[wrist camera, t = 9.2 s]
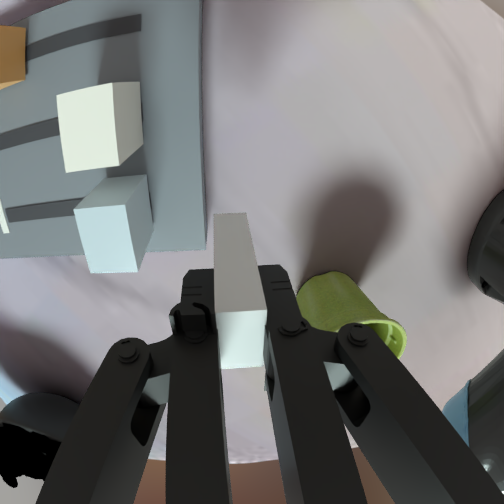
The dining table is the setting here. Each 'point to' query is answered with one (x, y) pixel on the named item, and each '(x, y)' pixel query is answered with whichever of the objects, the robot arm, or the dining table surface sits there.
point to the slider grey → (115, 224)
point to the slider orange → (12, 55)
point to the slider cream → (100, 125)
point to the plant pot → (346, 309)
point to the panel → (93, 74)
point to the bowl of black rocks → (32, 434)
